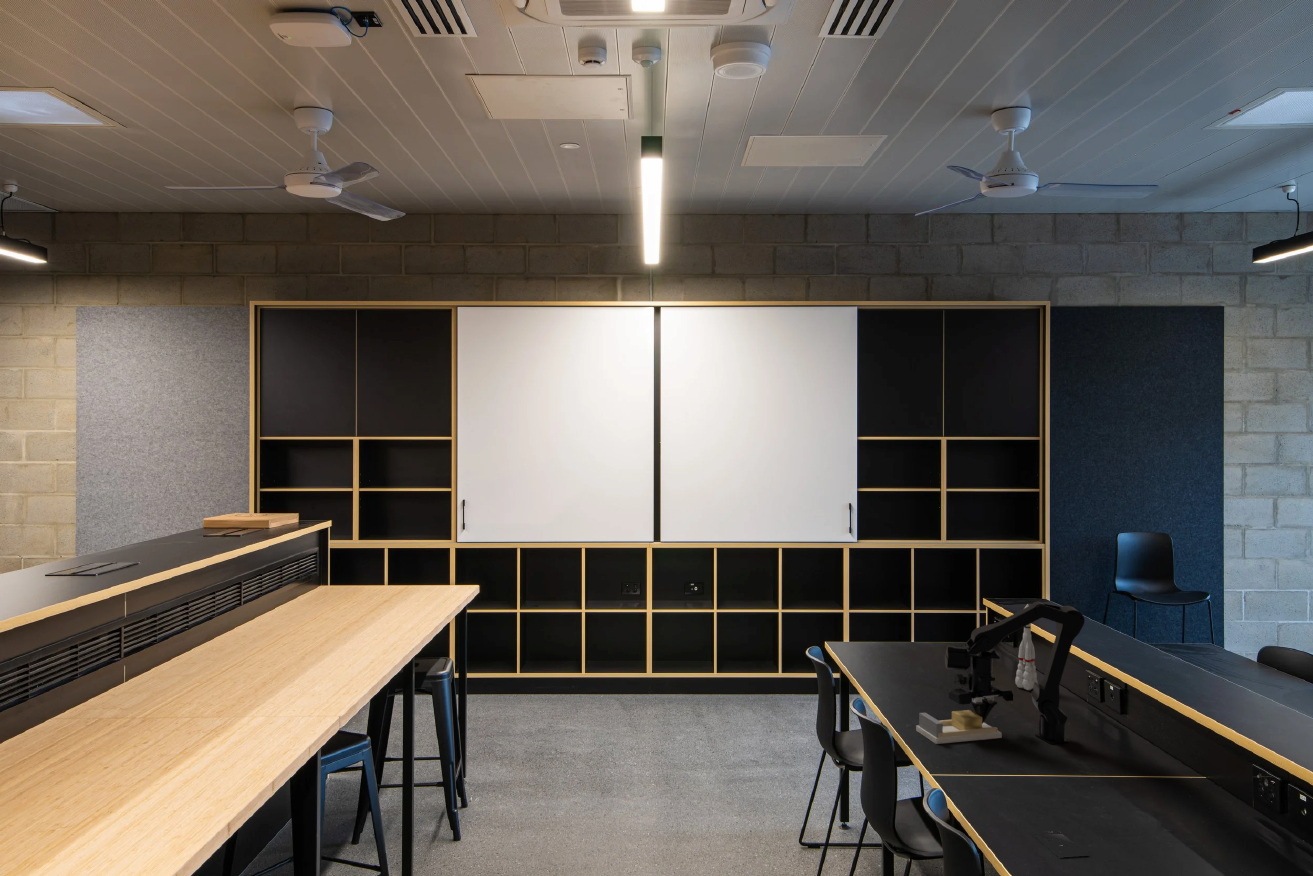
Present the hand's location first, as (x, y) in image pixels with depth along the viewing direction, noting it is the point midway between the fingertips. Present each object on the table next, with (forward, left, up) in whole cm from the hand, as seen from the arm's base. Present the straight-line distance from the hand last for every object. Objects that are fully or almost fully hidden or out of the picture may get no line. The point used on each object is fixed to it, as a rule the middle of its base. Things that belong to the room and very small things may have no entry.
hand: (980, 723), depth 227 cm
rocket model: (+31, -42, -3) cm, 53 cm away
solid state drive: (-58, +25, -3) cm, 63 cm away
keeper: (0, +5, -1) cm, 5 cm away
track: (0, +8, -3) cm, 8 cm away
